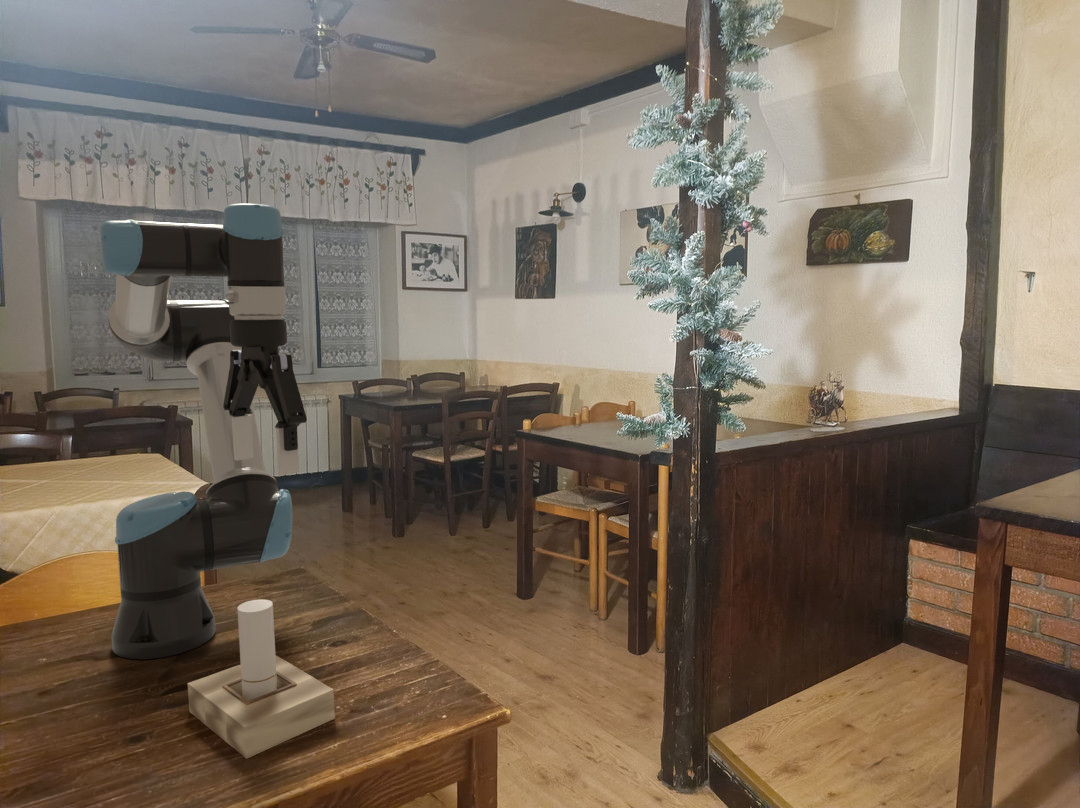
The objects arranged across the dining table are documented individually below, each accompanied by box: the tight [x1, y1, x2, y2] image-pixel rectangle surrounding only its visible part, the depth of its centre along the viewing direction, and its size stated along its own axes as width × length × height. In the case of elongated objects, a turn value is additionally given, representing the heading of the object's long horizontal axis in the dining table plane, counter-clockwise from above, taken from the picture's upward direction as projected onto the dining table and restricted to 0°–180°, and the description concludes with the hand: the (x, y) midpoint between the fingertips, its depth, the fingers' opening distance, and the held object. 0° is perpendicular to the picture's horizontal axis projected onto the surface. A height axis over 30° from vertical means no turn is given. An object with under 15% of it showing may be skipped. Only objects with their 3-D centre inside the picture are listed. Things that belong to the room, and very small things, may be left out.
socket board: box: [187, 654, 336, 760], centre depth 100 cm, size 16×12×4 cm
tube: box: [237, 599, 277, 701], centre depth 99 cm, size 4×4×15 cm
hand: (265, 465), depth 109 cm, fingers open, 13 cm apart
